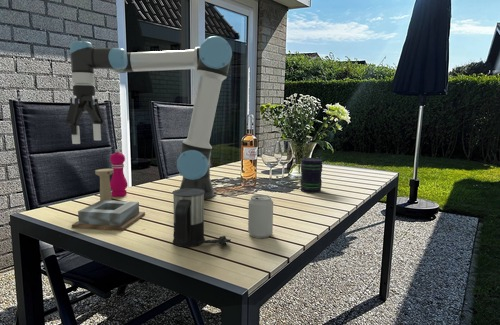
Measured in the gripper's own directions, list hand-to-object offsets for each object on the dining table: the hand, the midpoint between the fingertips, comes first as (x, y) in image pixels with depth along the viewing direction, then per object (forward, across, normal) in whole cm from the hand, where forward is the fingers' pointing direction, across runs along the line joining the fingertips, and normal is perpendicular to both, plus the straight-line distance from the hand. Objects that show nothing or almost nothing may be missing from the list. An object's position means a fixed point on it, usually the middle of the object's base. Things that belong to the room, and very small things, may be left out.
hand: (87, 142), depth 138 cm
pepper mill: (+25, -16, +3) cm, 29 cm away
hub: (+24, +18, +18) cm, 35 cm away
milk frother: (+25, +32, +54) cm, 67 cm away
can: (+25, +21, +69) cm, 77 cm away
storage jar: (+26, -42, +85) cm, 99 cm away
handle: (+25, +6, +10) cm, 27 cm away
